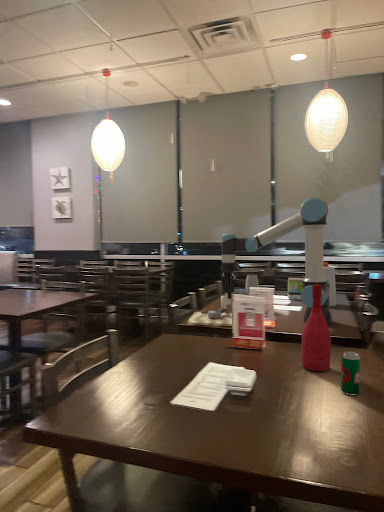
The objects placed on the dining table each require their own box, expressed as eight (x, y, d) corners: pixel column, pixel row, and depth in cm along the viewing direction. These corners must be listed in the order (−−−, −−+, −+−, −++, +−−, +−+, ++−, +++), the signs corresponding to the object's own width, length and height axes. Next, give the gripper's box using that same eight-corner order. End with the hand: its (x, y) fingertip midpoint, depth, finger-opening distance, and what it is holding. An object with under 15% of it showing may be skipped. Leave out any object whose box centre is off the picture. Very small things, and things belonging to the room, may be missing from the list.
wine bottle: (330, 364, 139) (331, 283, 137) (330, 374, 130) (332, 286, 128) (301, 362, 142) (303, 282, 140) (300, 371, 133) (301, 285, 131)
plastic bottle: (338, 307, 244) (339, 263, 242) (314, 307, 244) (315, 263, 242) (330, 302, 259) (331, 261, 257) (307, 302, 259) (308, 261, 257)
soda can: (357, 397, 111) (358, 357, 111) (339, 393, 114) (340, 354, 113) (360, 391, 116) (361, 352, 115) (342, 388, 118) (343, 350, 118)
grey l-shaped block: (216, 319, 204) (216, 300, 203) (205, 317, 208) (205, 298, 207) (230, 314, 214) (230, 296, 214) (220, 312, 219) (220, 295, 218)
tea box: (288, 299, 269) (288, 279, 268) (287, 297, 279) (287, 277, 278) (310, 300, 267) (311, 279, 266) (308, 298, 277) (309, 277, 276)
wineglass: (258, 307, 244) (258, 274, 242) (259, 310, 235) (259, 276, 234) (244, 307, 245) (244, 274, 243) (245, 309, 236) (245, 276, 235)
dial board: (239, 315, 219) (239, 311, 219) (237, 327, 194) (237, 321, 194) (194, 314, 224) (194, 309, 223) (187, 325, 198) (187, 320, 198)
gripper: (240, 262, 206) (240, 305, 208) (227, 261, 218) (227, 301, 219) (229, 263, 203) (229, 307, 204) (216, 261, 214) (216, 303, 216)
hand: (228, 304), depth 212 cm, fingers closed
